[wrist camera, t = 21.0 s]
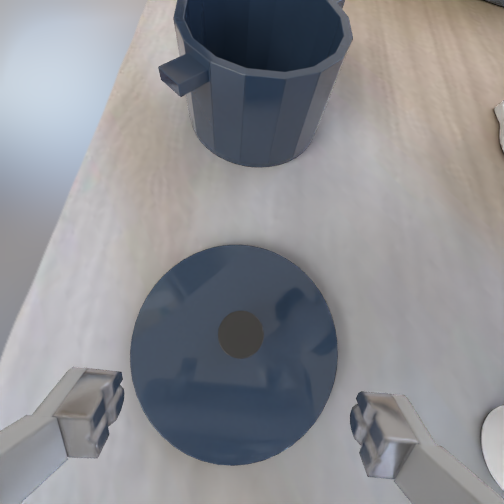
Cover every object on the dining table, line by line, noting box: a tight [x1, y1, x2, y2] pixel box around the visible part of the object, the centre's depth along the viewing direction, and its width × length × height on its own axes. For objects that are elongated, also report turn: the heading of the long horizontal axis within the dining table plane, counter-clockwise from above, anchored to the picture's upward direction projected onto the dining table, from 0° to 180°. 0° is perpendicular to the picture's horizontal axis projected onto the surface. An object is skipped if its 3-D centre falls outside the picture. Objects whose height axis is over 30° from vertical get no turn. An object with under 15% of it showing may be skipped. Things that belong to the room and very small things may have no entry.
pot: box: [158, 0, 353, 167], centre depth 25 cm, size 14×20×10 cm
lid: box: [130, 245, 338, 466], centre depth 17 cm, size 16×16×7 cm
